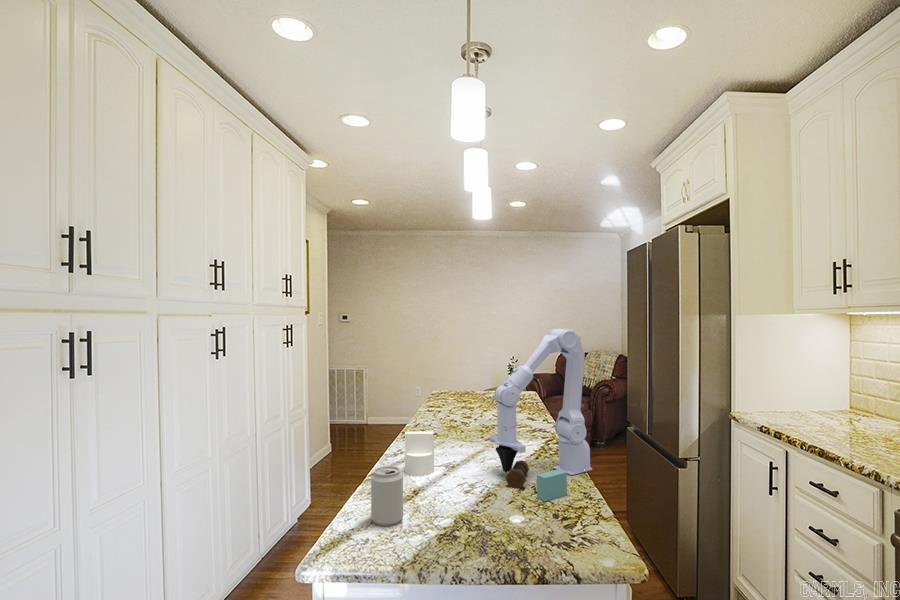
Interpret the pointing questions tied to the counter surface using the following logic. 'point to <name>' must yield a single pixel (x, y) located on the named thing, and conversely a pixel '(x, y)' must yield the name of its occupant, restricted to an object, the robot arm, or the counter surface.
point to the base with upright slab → (419, 453)
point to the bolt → (517, 474)
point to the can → (387, 495)
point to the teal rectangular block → (551, 485)
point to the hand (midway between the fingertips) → (507, 471)
